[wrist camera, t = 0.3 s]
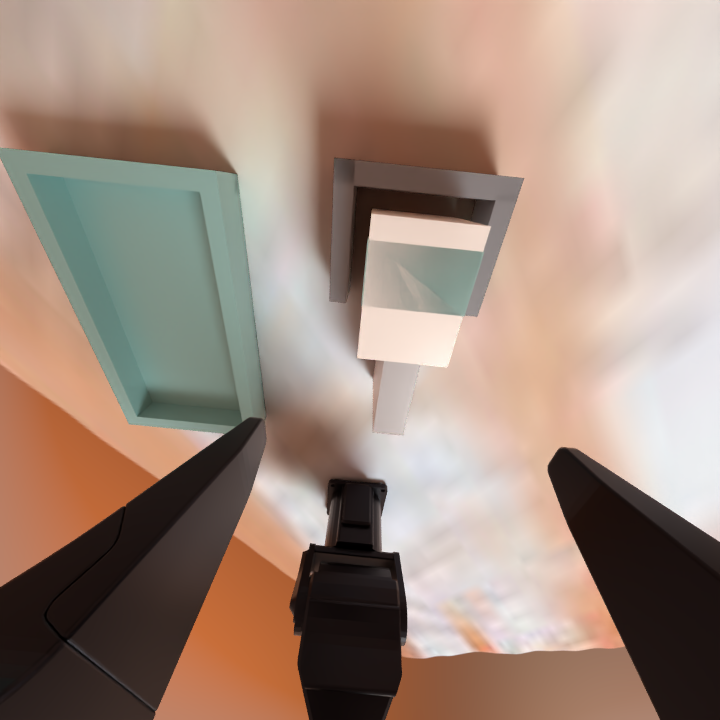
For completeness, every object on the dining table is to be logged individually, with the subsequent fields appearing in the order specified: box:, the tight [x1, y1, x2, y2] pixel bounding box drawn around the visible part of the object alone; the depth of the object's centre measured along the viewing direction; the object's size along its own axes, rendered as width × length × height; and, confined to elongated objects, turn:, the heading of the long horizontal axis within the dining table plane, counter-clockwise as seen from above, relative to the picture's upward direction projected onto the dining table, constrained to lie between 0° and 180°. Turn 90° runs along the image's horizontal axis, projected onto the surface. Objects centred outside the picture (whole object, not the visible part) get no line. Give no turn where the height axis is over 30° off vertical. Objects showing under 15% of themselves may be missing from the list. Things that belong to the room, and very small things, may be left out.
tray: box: [0, 148, 266, 434], centre depth 20 cm, size 19×11×2 cm, turn 175°
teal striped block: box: [357, 208, 491, 435], centre depth 17 cm, size 12×5×6 cm, turn 175°
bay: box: [329, 158, 524, 317], centre depth 16 cm, size 7×9×3 cm
